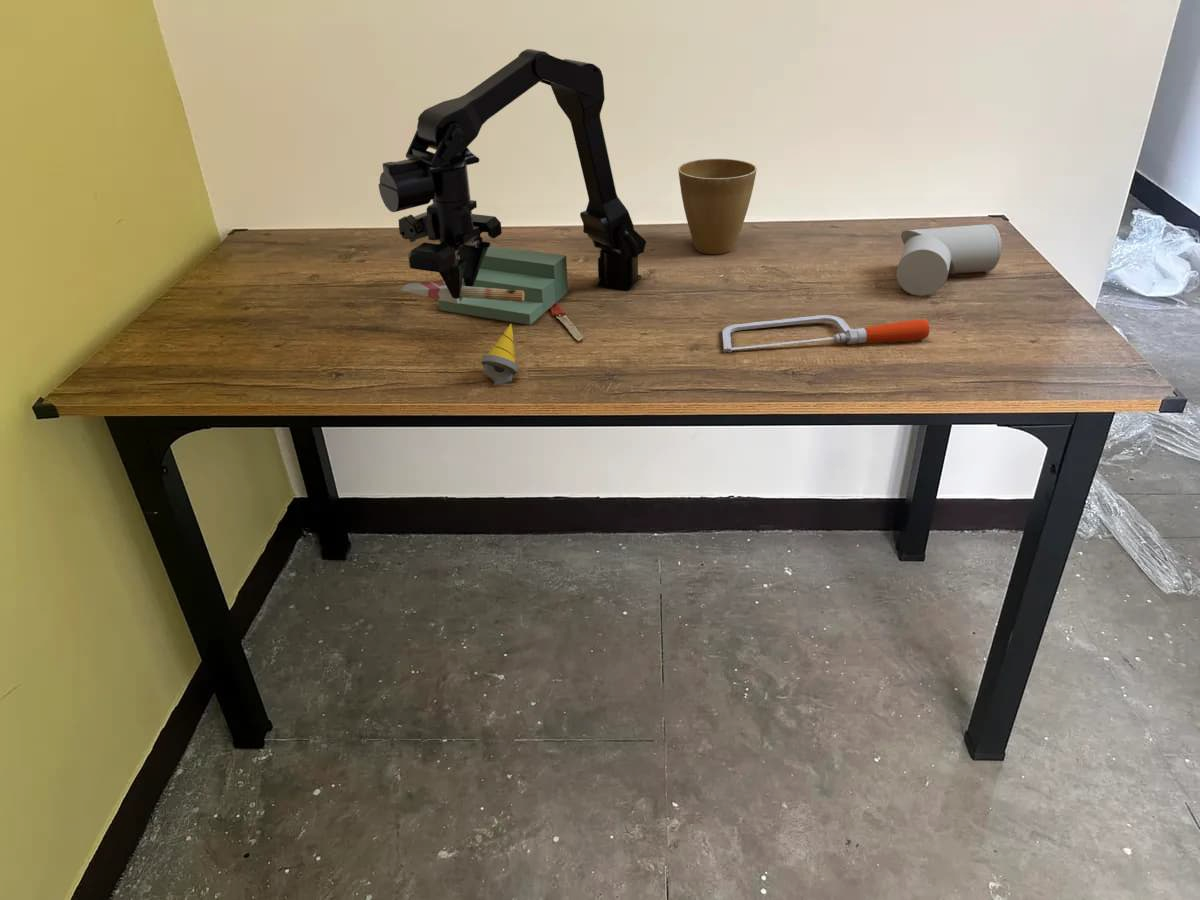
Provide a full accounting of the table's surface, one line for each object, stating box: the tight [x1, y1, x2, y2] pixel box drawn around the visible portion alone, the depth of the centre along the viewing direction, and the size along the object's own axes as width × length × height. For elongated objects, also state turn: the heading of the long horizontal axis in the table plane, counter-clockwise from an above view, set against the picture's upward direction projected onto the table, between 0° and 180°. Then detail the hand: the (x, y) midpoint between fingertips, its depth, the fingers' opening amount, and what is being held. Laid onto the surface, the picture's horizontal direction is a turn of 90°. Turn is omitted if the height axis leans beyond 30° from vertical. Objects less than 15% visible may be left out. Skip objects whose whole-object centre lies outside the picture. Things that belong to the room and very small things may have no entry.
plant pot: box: [677, 158, 758, 255], centre depth 174 cm, size 15×15×16 cm
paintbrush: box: [400, 279, 525, 304], centre depth 143 cm, size 4×3×20 cm
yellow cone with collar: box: [480, 323, 519, 386], centre depth 133 cm, size 5×5×10 cm
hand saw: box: [721, 314, 930, 353], centre depth 143 cm, size 33×3×10 cm
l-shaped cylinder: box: [895, 223, 1002, 297], centre depth 160 cm, size 18×10×20 cm
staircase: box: [437, 245, 569, 326], centre depth 157 cm, size 18×15×7 cm
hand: (462, 293), depth 143 cm, fingers closed on paintbrush, 4 cm apart
